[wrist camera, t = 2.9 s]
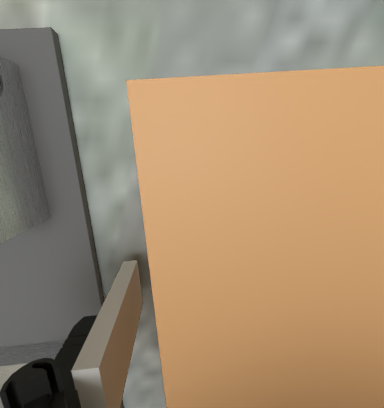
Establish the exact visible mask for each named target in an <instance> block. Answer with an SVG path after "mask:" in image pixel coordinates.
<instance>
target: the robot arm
mask: <svg viewBox="0 0 384 408" xmlns="http://www.w3.org/2000/svg"><path fill="white" fill-rule="evenodd" d="M142 305H143V300H142V292H141V285H140V277H139V270H138V262H137V260H133V261H123V263H122V265H121V268H120V270H119V272H118V274H117V276H116V278H115V280H114V282H113V284H112V286H111V289H110V291H109V293H108V295H107V297H106V299H105V301H104V303H103V305H102V307H101V309H100V312H99V314H98V315H94V316H84V317H83V318H82V319H81V320H80V321H79V322H78V323H76V324H75V325H74V326H73V328H72V330H71V332H70V333H69V335H68V338H67V339H66V340H65V342H64V344H63V345H62V348H61V349H60V350H59V352H58V354H57V356H56V357H55V359H52V358H41V359H38V360H34V361H32V362H30V363H28V364H26V365H24V366H22V367H21V368H20V369H18V370H17V371H16V372H14V373H13V374H12V375H11V376H10V377H9V378H8V379H7V381H6V382H5V383H4V384H3V386H2V388H1V390H0V398H1V401H2V404H3V407H4V408H120V406H121V401H122V396H123V392H124V387H125V383H126V378H127V374H128V369H129V364H130V360H131V355H132V351H133V346H134V342H135V337H136V332H137V328H138V323H139V319H140V314H141V309H142Z"/></svg>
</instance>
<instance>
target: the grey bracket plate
mask: <svg viewBox="0 0 384 408" xmlns="http://www.w3.org/2000/svg"><path fill="white" fill-rule="evenodd" d="M50 217H51V214H50V209H49V205H48V200H47V196H46V191H45V186H44V182H43V177H42V172H41V168H40V163H39V158H38V154H37V149H36V144H35V140H34V135H33V130H32V126H31V121H30V116H29V112H28V107H27V102H26V98H25V93H24V88H23V84H22V79H21V75H20V70H19V65H17V64H15V63H13V62H12V61H10V60H8V59H6V58H4V57H2V56H1V55H0V243H2V242H4V241H6V240H8V239H10V238H12V237H14V236H16V235H17V234H19V233H21V232H23V231H25V230H27V229H29V228H31V227H33V226H35V225H37V224H38V223H40V222H42V221H44V220H46V219H48V218H50ZM64 342H65V341H58V342H48V343H39V344H30V345H21V346H11V347H2V348H0V390H1V388H2V386H3V384H4V383H5V382H6V381H7V379H8V378H9V377H10V376H11V375H12V374H13V373H14V372H16V371H17V370H18V369H20V368H21V367H22V366H24V365H26V364H28V363H30V362H32V361H34V360H38V359H41V358H52V359H55V357H56V356H57V354H58V352H59V350H60V349H61V348H62V345H63V344H64ZM0 408H4V407H3V404H2V401H1V398H0Z"/></svg>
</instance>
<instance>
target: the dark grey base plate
mask: <svg viewBox="0 0 384 408" xmlns="http://www.w3.org/2000/svg"><path fill="white" fill-rule="evenodd" d="M0 55H1V56H2V57H4V58H6V59H8V60H10V61H12V62H13V63H15V64H17V65H19V70H20V75H21V79H22V84H23V88H24V93H25V98H26V102H27V107H28V112H29V116H30V121H31V126H32V130H33V135H34V140H35V144H36V149H37V154H38V158H39V163H40V168H41V172H42V177H43V182H44V186H45V191H46V196H47V200H48V205H49V209H50V214H51V217H50V218H48V219H46V220H44V221H42V222H40V223H38V224H37V225H35V226H33V227H31V228H29V229H27V230H25V231H23V232H21V233H19V234H17V235H16V236H14V237H12V238H10V239H8V240H6V241H4V242H2V243H0V348H2V347H11V346H21V345H30V344H39V343H48V342H58V341H65V340H66V339H67V338H68V335H69V333H70V332H71V330H72V328H73V326H74V325H75V324H76V323H78V322H79V321H80V320H81V319H82V318H83V317H84V316H94V315H98V314H99V312H100V309H101V307H102V305H103V303H104V296H103V291H102V285H101V279H100V274H99V268H98V262H97V257H96V251H95V245H94V240H93V234H92V228H91V222H90V217H89V211H88V205H87V200H86V194H85V188H84V183H83V177H82V171H81V165H80V160H79V154H78V148H77V143H76V137H75V131H74V126H73V120H72V114H71V109H70V103H69V97H68V91H67V86H66V80H65V74H64V69H63V63H62V57H61V52H60V46H59V40H58V35H57V33H56V32H55V31H54V30H53V29H52V28H51V27H49V28H25V29H1V30H0ZM120 408H123V405H122V401H121V406H120Z"/></svg>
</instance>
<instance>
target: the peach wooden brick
mask: <svg viewBox="0 0 384 408" xmlns="http://www.w3.org/2000/svg"><path fill="white" fill-rule="evenodd" d="M126 83H127V91H128V99H129V108H130V116H131V124H132V132H133V140H134V148H135V156H136V164H137V172H138V181H139V189H140V197H141V205H142V213H143V221H144V229H145V237H146V245H147V254H148V262H149V270H150V278H151V286H152V294H153V302H154V310H155V318H156V327H157V335H158V343H159V351H160V359H161V367H162V375H163V383H164V391H165V400H166V408H384V66H369V67H352V68H334V69H316V70H299V71H281V72H263V73H246V74H228V75H210V76H193V77H175V78H157V79H140V80H126Z"/></svg>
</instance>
